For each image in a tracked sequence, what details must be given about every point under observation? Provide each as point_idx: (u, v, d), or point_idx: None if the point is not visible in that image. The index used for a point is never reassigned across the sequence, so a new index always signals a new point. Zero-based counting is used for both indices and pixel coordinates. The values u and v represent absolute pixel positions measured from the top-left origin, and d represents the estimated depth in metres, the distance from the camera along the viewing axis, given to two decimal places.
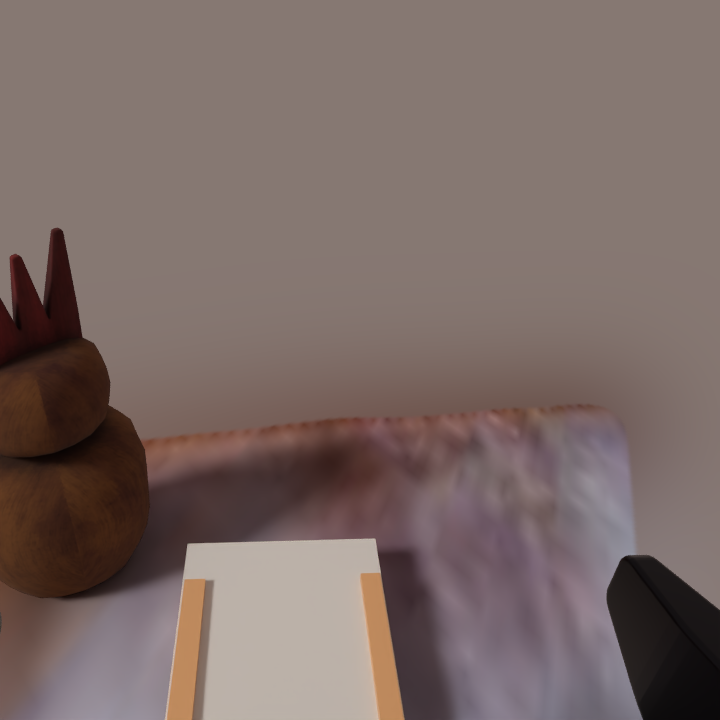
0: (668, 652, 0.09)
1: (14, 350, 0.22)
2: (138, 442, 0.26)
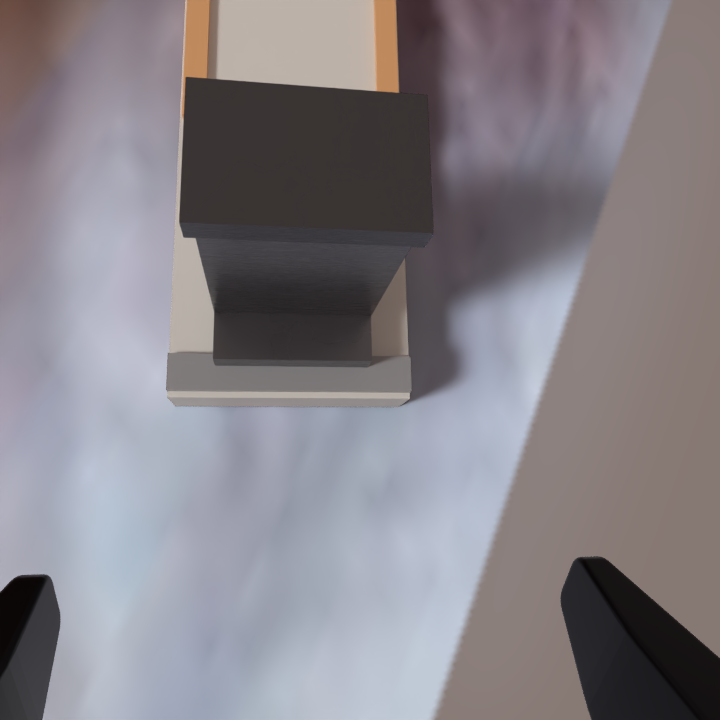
0: (614, 655, 0.08)
1: None
2: None
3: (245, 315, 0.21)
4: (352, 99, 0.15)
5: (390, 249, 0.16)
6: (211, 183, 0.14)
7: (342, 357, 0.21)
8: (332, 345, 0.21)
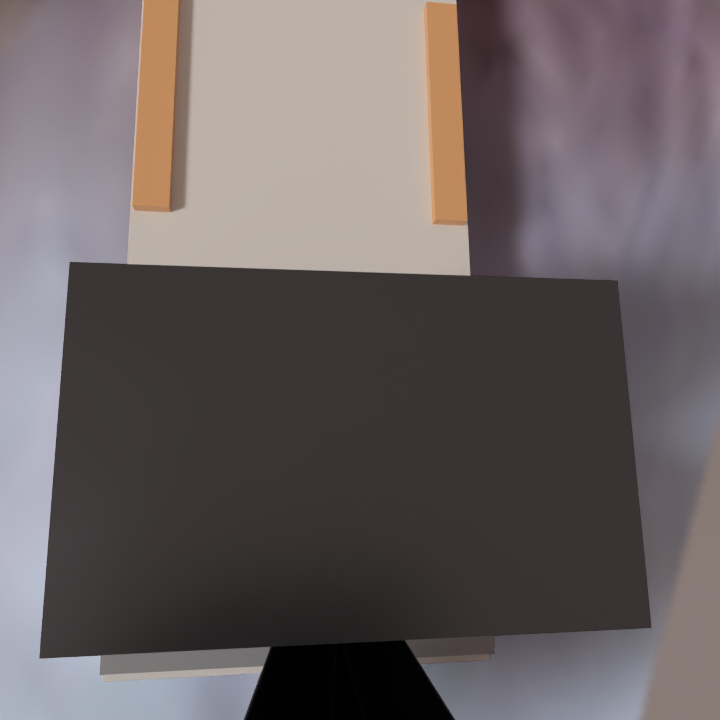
0: None
1: None
2: None
3: None
4: (457, 298, 0.06)
5: None
6: (125, 541, 0.06)
7: None
8: None
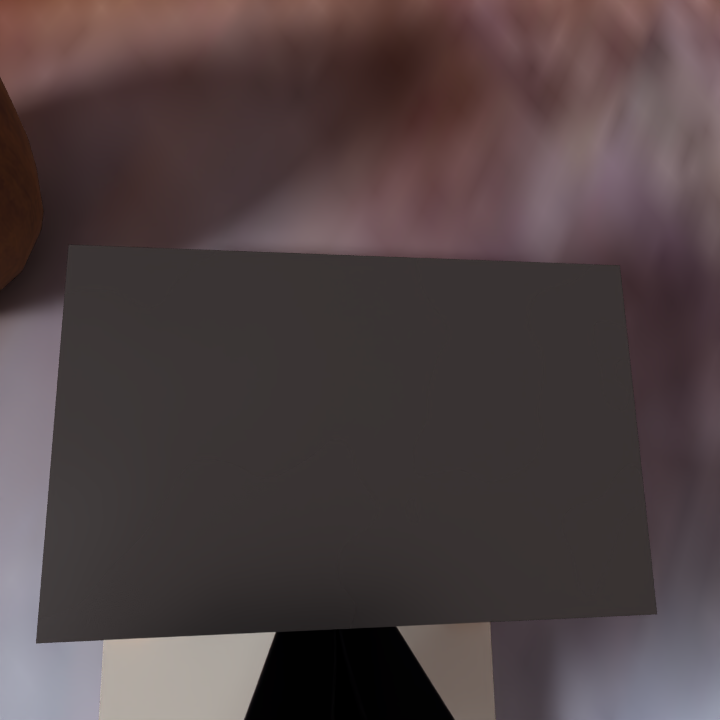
0: None
1: None
2: None
3: None
4: (459, 282, 0.06)
5: None
6: (122, 524, 0.06)
7: None
8: None
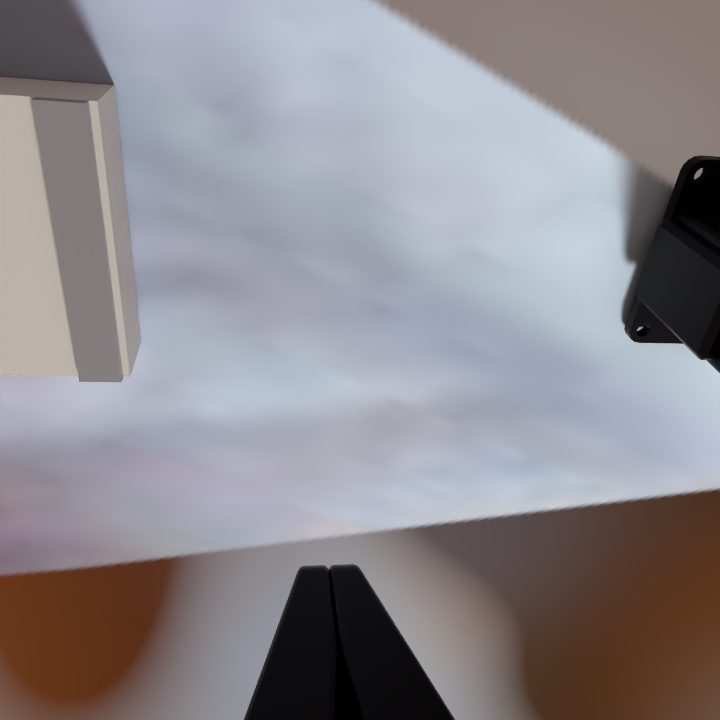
0: None
1: None
2: None
3: None
4: None
5: None
6: None
7: None
8: None
